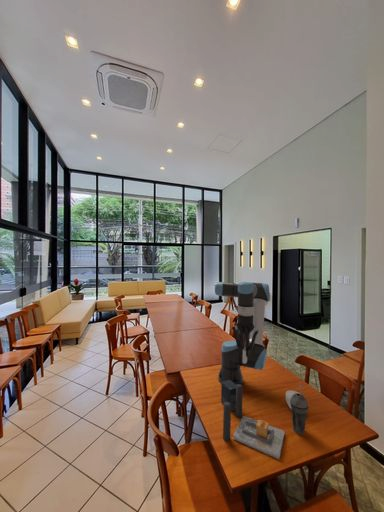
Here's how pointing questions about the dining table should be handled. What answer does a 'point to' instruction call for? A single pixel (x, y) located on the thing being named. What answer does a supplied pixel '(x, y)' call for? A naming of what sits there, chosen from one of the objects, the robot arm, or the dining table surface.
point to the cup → (289, 396)
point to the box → (228, 393)
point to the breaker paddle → (262, 428)
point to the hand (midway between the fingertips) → (244, 362)
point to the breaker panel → (259, 437)
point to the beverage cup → (299, 412)
